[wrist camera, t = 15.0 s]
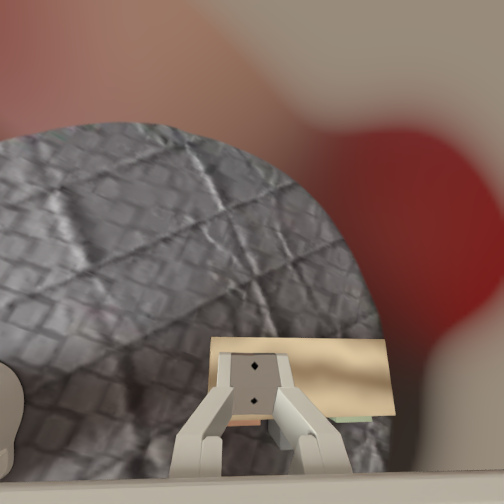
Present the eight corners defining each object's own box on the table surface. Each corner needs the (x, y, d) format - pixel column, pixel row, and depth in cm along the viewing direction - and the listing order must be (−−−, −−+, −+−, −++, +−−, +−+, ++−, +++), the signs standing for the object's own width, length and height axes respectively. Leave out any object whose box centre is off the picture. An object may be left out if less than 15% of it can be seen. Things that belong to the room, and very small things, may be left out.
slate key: (300, 430, 39) (319, 448, 33) (268, 431, 38) (280, 450, 32) (298, 378, 41) (315, 385, 35) (267, 378, 41) (279, 386, 34)
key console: (353, 398, 42) (395, 415, 33) (206, 401, 39) (206, 421, 29) (347, 339, 45) (384, 339, 36) (210, 337, 42) (211, 336, 32)
